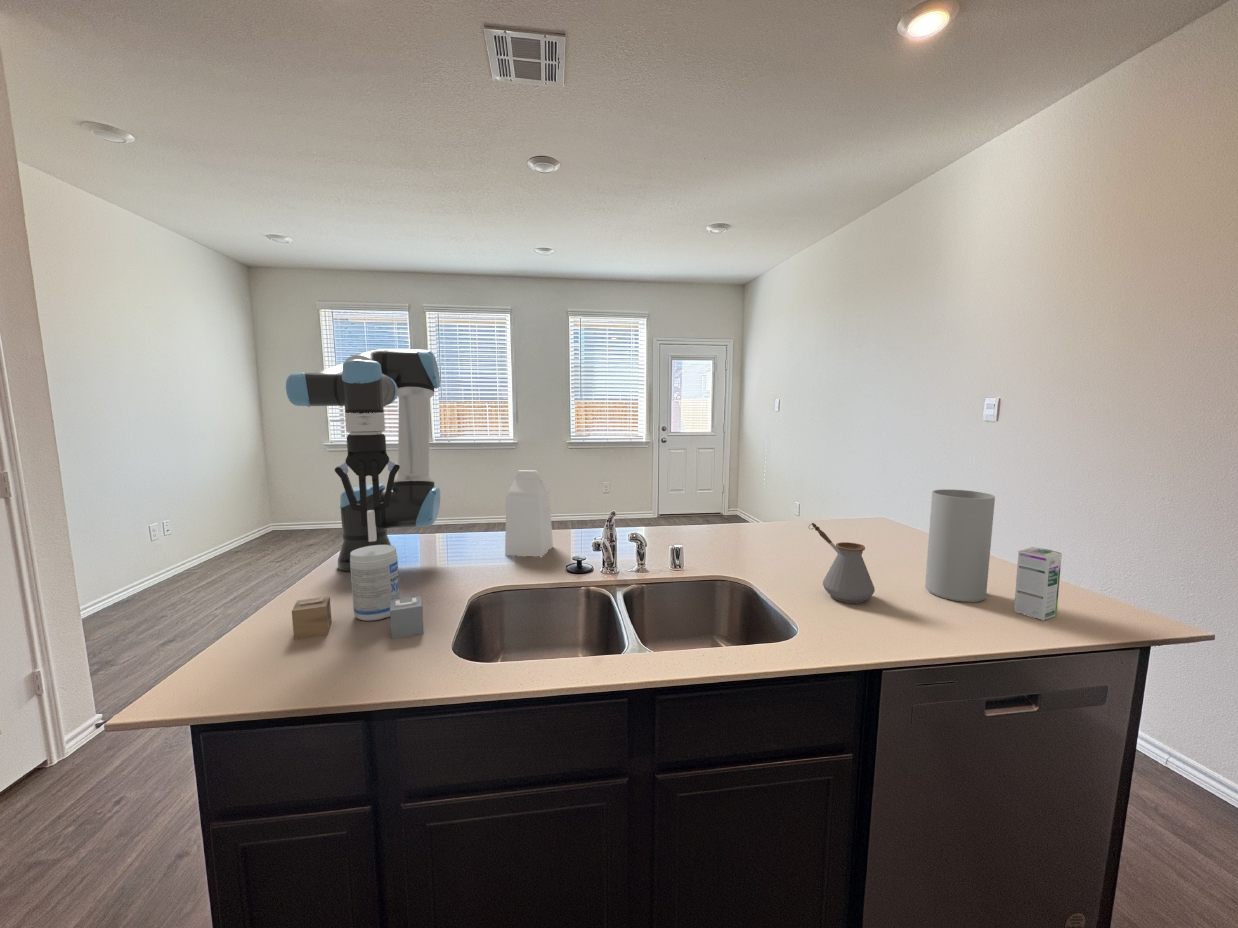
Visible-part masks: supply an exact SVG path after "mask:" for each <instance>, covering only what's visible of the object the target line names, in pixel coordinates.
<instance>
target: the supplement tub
mask: <svg viewBox="0 0 1238 928" xmlns="http://www.w3.org/2000/svg"><path fill="white" fill-rule="evenodd" d="M398 561H399V560H398V552H397V547H396V546H395V545H392V544H391V545H373V546H366V547H362V548H358V549H356V550H353V551H352V552H351V553H350V568H351V572H350V578H351V580H350V581H351V591H352V604H353V606H352V607H353V615H354V617H355V618H357V619H358V620H361V621H378V620H383V619H385V618H390V600H395V599H401V595H400V593H401V592H400V580H399V579H400V577H399V562H398Z"/></svg>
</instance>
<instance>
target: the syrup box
mask: <svg viewBox="0 0 1238 928" xmlns="http://www.w3.org/2000/svg"><path fill="white" fill-rule="evenodd" d="M1061 565H1062V553H1061V552H1059V551H1057V550H1056V551H1055V550H1052V549H1047V548H1042V547H1035V546H1031V547H1030V548H1029V547H1028V548H1025V549H1020V550H1018V556H1017V569H1016V578H1015V593H1014V596H1015V597H1014V607H1013V609H1014V610H1013V611H1014V612H1015V611H1016V612H1015V613H1017V612H1019V613H1018V614H1020V613H1022V614H1025V615H1029V616H1031V617H1030V618H1032V617H1035V618H1038V619H1042V620H1045V619H1046V620H1048V619H1049V620H1050V619H1051V618H1054V617H1056V616H1057V615H1058V603H1059V592H1060V589H1059V588H1060V579H1061V568H1062V567H1061ZM1022 614H1021V615H1022ZM1025 615H1024V616H1025ZM1035 618H1034V619H1035ZM1038 619H1037V620H1038ZM1042 620H1041V621H1042ZM1046 620H1045V621H1046Z"/></svg>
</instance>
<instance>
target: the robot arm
mask: <svg viewBox="0 0 1238 928" xmlns="http://www.w3.org/2000/svg"><path fill="white" fill-rule="evenodd" d="M440 386H441V378H440V372H439V366H438V362H437V358H436V356H435V354H434V353H433V352H432V351H431V350H428V349H418V348H416V349H405V348H404V349H402V348H399V349H398V348H396V349H395V348H394V349H392V348H389V349H388V348H387V349H386V348H376V349H371V350H367V351H363V352H360V353H357V354H353V355H351V356H349V357H347V358H346V359H345V361H343V362H342V363H339V364H337V365H333V366H329V367H328V368H325V369H321V370H317V371H315V372H304V371H303V372H296V373H295V372H293V373H290V374H289V375H288V377H287V378H286V381H285V390H286V396H287V399H288V400H289V402H290V403H291V404H292V405H294V406H296V407H297V406H298V407H308V408H310V407H335V406H336V407H340V406H341V407H344V415H345V416H344V417H345V431H346V432H347V433H349V434H348V435H347V436H346V449H347V455H346V458H345V460H344V461H345V462H343V463H342V464H340V465H338V466H336V467H335V468H334V472H335V473H336V474H337V475H338V477H339V478H340V481H341V483H342V486H343V489H344V491H342V492H341V494H340V499H339V500H340V506H339V509H340V518H341V529H342V544H341V546H340V549H339V550H340V551H339V554H338V558H337V568H338V569H339V570H340V571H343V572H349V573H351V568H350V553H351V552H352V551H353V550H356V549H358V548H362V547H366V546H373V545H392V544H391V541H390V539H389V536H388V529H402V528H403V529H404V528H405V529H406V528H417V529H418V528H421V527H422V528H424V527H430V526H432V525H434V524H435V522H436V521H437V519H438V515H439V511H440V506H441V505H440V504H441V489H440V488H439V487H437V486H435V480H433V479H432V477H430V399H431V398H432V397H434V395H435V389H436V390H437V389H439V388H440ZM397 397H398V431H397V432H398V433H397V435H398V439H397V442H398V447H397V448H398V449H397V450H398V451H397V454H398V455H397V461H398V462H394V461H392V460H391V459H390V457H389V455H388V453H387V442H386V441H387V439H386V438H387V437H386V435H385V434H384V433H383V432H384V431H386V421H385V420H386V419H385V410H384V409H385V407H386V406H388V405H390V404H393V403H394V402H395V401H396V399H397ZM387 466H388V467H387ZM348 467H349V468H348ZM386 467H387V470H388V472H389V473H388V477H387V484H386V486H385V484H384V483H380V478H379V476H380V474H381V473H382V472H383V470H384V469H385V468H386ZM349 469H351V471H352V472H354V474H355V475H356V476H357V477H358V486H355V487H353V486H352V483H351V481H350V478H349V475H348V473H349ZM396 475H397V477H396ZM368 476H369V477H371V481H372V484H367V479H366V478H367V477H368Z"/></svg>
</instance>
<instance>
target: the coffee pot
mask: <svg viewBox="0 0 1238 928" xmlns="http://www.w3.org/2000/svg"><path fill="white" fill-rule="evenodd" d="M811 526H812V528H811ZM808 529H809V530H814V531H816V532H817V533H818V534H819V536H820V537H821V538H822V539H823V540H824V541H825V542H826V543H827V544H828V545H830V547H831V548H832V549H833V550H834V551H835V552H836V553H837V555H836V557H835V559H834V560H833V562H832V564H831V566H830V567H829V569H828V571H827V573H826V575H825V576H824V579H823V580H822V586H823V588H824V590H825V591H826V592H827V593H828V594H829V595H830V597H831V598H833V599H834V600H836V601H840V602H842V603H846V604H847V603H848V604H862V603H864V602H865V601H866V600H868V599H870V598H871V597H872V596H873V595H874V593H875V592H876V591H875V590H876V589H875V586H874V584H873V581H872V579H871V576H870V573H869V570H868V568H867V565H866V563H865V560H864V558H863V556H862V555H863V552H864V551H865V550H866V547H865V545H864V544H861V543H860V544H859V543H856V542H848V541H847V542H843V541H842V542H837V543H836V544H834V543H833V541H832V540H831V539H830V538H829V536H828V535H827V534H826V533H825V532H824V531H823V530H821V528H820V527H819V526H817V524H816V523H814V522H811V524H808Z"/></svg>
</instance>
